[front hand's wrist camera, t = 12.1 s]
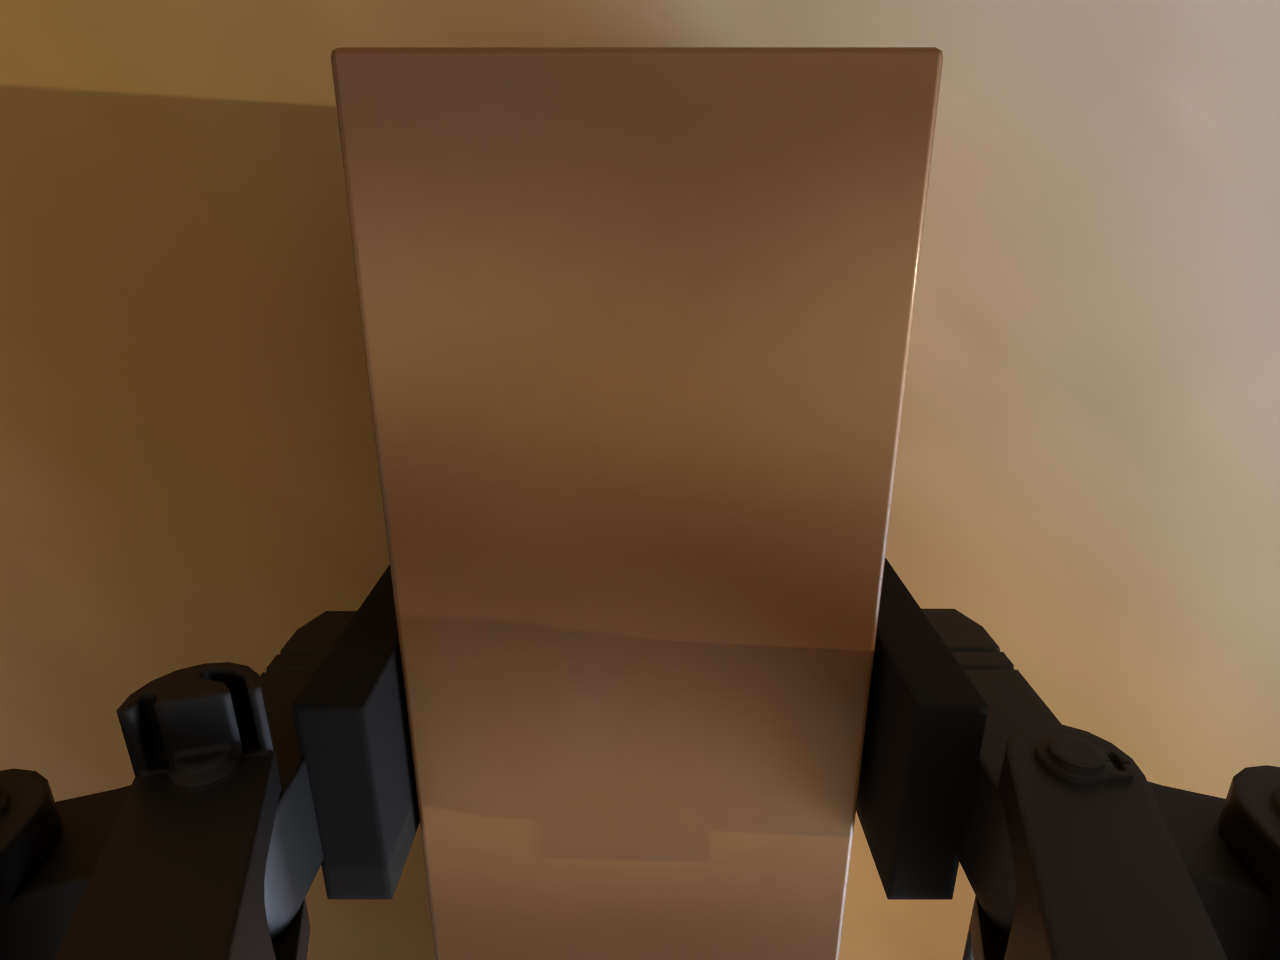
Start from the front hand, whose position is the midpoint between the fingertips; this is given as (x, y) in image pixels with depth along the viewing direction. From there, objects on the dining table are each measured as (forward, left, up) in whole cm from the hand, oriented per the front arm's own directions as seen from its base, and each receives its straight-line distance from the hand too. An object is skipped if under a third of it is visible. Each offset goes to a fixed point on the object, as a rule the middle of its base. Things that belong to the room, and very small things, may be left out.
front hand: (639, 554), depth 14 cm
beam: (+8, -25, -1) cm, 26 cm away
